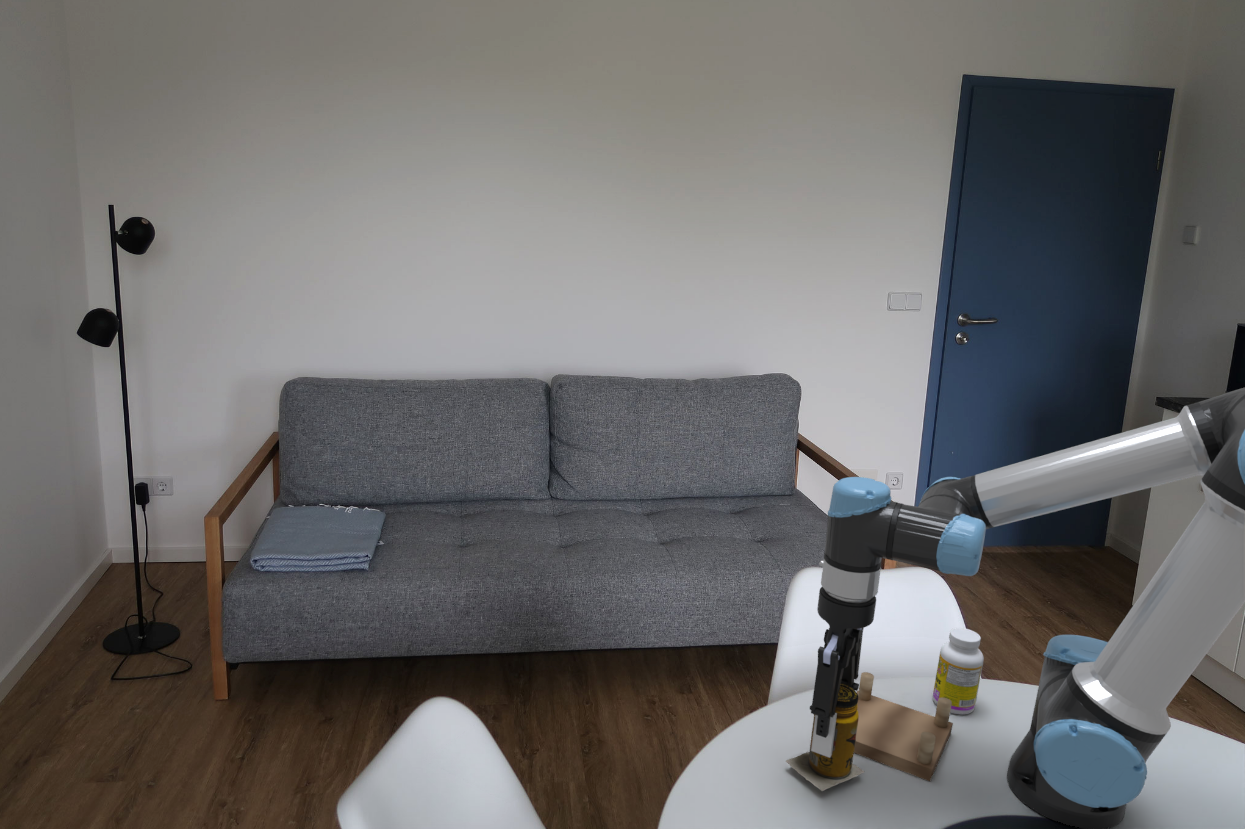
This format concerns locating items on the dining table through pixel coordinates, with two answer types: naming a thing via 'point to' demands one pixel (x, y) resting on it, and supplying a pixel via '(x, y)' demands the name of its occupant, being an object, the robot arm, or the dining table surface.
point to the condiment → (834, 747)
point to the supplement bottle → (959, 671)
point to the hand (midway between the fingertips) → (829, 740)
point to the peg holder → (900, 732)
